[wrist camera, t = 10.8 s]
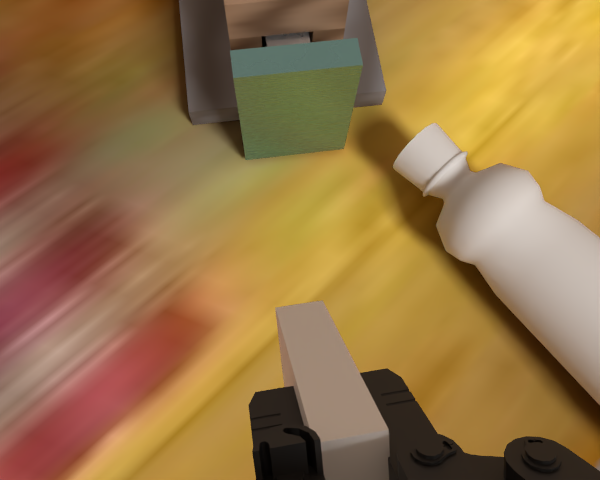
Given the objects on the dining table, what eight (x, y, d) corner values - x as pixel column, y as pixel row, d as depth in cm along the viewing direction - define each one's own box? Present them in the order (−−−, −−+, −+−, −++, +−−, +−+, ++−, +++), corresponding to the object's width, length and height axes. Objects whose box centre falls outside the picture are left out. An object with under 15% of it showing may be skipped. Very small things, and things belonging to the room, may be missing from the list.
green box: (245, 159, 42) (233, 78, 32) (224, -19, 48) (207, -140, 37) (343, 148, 43) (363, 64, 33) (311, -27, 48) (319, -148, 38)
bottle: (799, 400, 35) (466, 108, 42) (880, 462, 27) (448, 86, 34) (680, 475, 38) (389, 191, 46) (720, 552, 30) (355, 190, 37)
